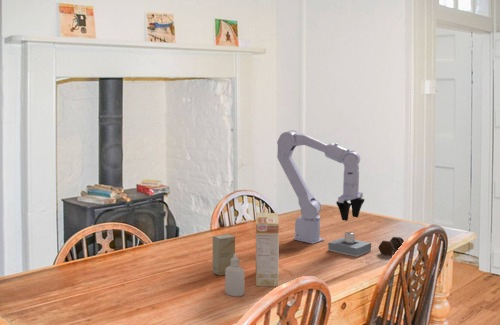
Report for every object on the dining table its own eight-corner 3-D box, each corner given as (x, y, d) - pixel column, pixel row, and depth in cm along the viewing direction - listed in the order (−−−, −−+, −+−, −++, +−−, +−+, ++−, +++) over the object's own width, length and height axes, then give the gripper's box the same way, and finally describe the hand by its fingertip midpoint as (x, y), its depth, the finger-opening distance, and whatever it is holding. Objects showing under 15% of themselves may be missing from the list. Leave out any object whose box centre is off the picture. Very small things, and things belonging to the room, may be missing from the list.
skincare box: (219, 276, 183) (219, 239, 181) (212, 272, 186) (211, 235, 185) (235, 272, 186) (235, 236, 185) (228, 269, 190) (228, 233, 188)
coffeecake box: (256, 270, 188) (256, 212, 186) (277, 270, 188) (278, 212, 186) (255, 286, 174) (255, 223, 171) (278, 286, 173) (279, 223, 171)
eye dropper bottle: (236, 290, 170) (236, 250, 169) (246, 295, 166) (246, 255, 164) (223, 292, 168) (223, 252, 167) (233, 298, 163) (232, 257, 162)
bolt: (401, 251, 218) (387, 259, 206) (390, 242, 221) (375, 250, 208) (409, 239, 216) (395, 246, 204) (398, 230, 218) (384, 238, 206)
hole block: (328, 250, 212) (328, 242, 211) (342, 244, 219) (343, 237, 219) (356, 256, 204) (356, 248, 204) (370, 250, 211) (371, 242, 211)
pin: (342, 249, 211) (343, 233, 210) (346, 247, 214) (347, 231, 213) (352, 251, 209) (352, 235, 208) (355, 248, 212) (356, 232, 211)
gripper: (349, 187, 210) (349, 223, 212) (370, 182, 221) (369, 216, 222) (333, 184, 214) (332, 220, 216) (354, 180, 225) (353, 214, 227)
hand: (350, 218), depth 220 cm, fingers open, 7 cm apart
